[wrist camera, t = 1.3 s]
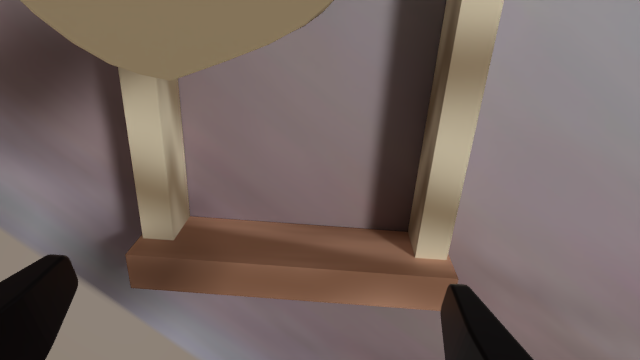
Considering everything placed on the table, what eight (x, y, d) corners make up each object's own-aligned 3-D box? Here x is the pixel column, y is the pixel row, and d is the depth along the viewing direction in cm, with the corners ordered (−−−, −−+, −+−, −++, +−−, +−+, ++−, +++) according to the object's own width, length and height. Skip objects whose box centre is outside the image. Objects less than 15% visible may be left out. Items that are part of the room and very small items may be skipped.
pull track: (433, 263, 24) (450, 311, 20) (162, 243, 24) (130, 287, 21) (522, -169, 16) (577, -217, 12) (108, -191, 16) (40, -244, 12)
